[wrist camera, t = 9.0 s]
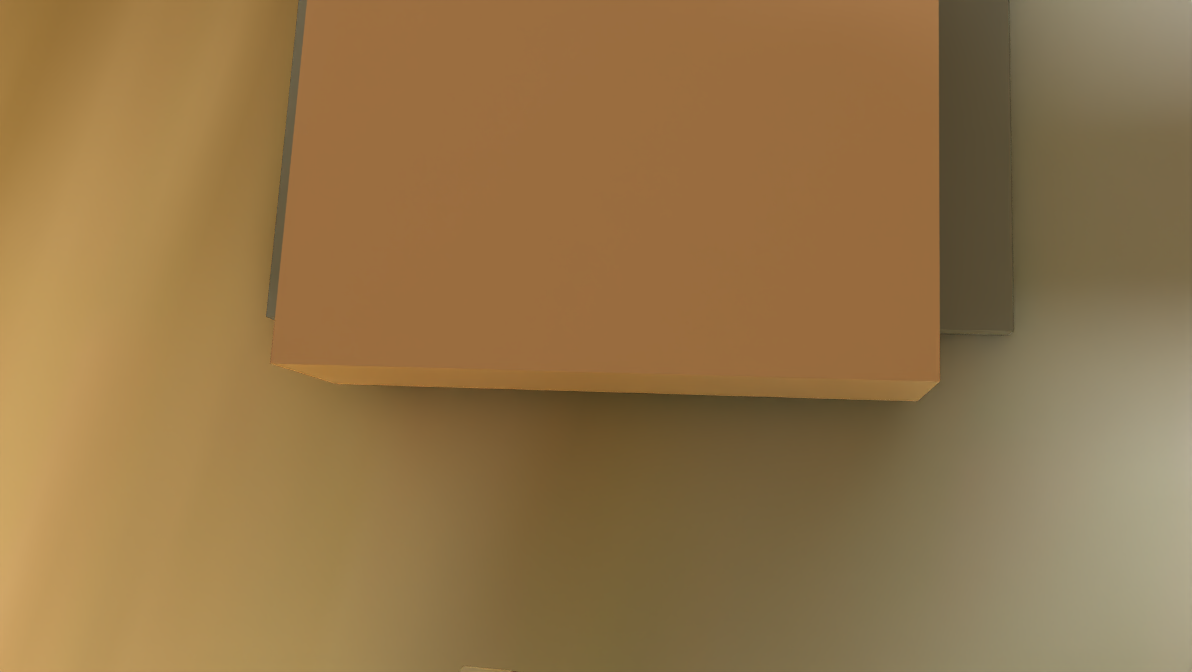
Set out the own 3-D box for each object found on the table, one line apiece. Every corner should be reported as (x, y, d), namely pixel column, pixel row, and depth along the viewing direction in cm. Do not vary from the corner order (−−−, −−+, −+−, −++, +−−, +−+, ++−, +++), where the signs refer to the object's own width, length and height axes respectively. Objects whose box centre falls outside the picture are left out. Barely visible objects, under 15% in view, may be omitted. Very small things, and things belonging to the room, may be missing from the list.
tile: (270, 363, 16) (339, -319, 18) (337, 384, 19) (391, -220, 21) (939, 381, 15) (937, -375, 17) (916, 401, 17) (916, -259, 19)
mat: (1008, 334, 18) (1013, 331, 17) (276, 320, 20) (266, 316, 19) (999, -308, 19) (1004, -325, 19) (334, -254, 22) (326, -268, 21)
